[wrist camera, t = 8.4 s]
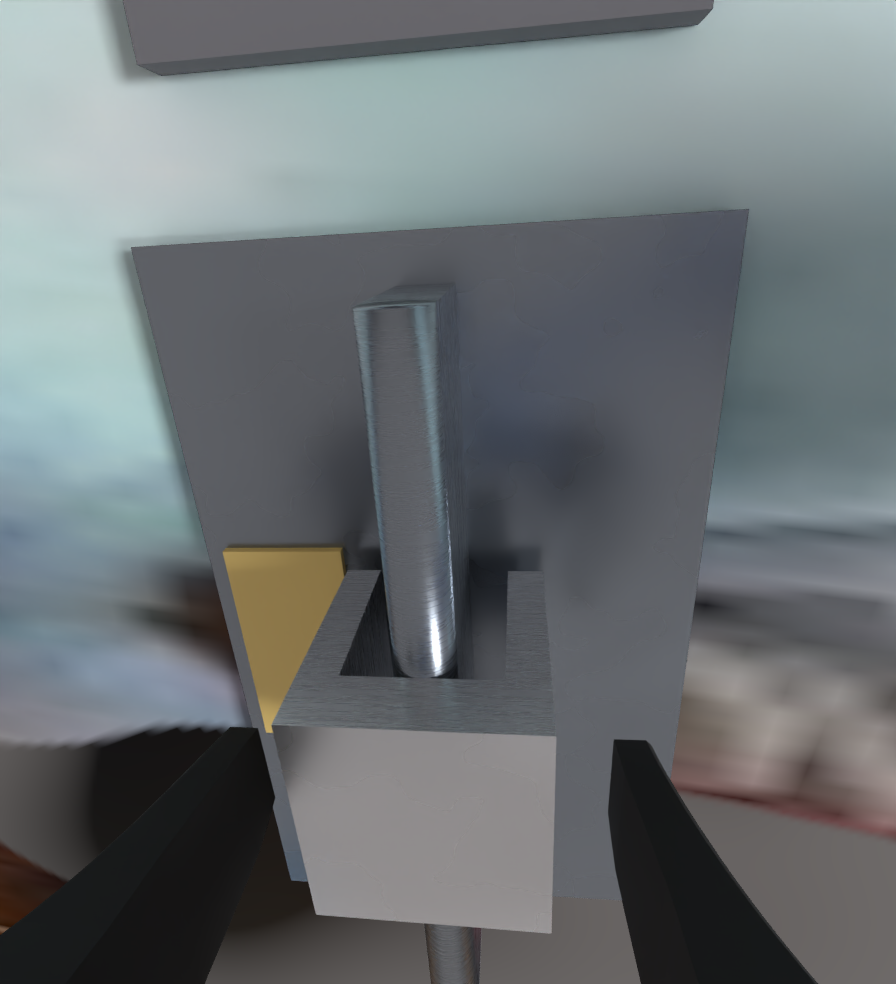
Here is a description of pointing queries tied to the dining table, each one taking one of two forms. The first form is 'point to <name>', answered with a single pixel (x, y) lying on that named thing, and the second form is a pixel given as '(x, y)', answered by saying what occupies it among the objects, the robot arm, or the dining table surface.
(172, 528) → the dining table surface
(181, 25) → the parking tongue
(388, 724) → the slotted grey block
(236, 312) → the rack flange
